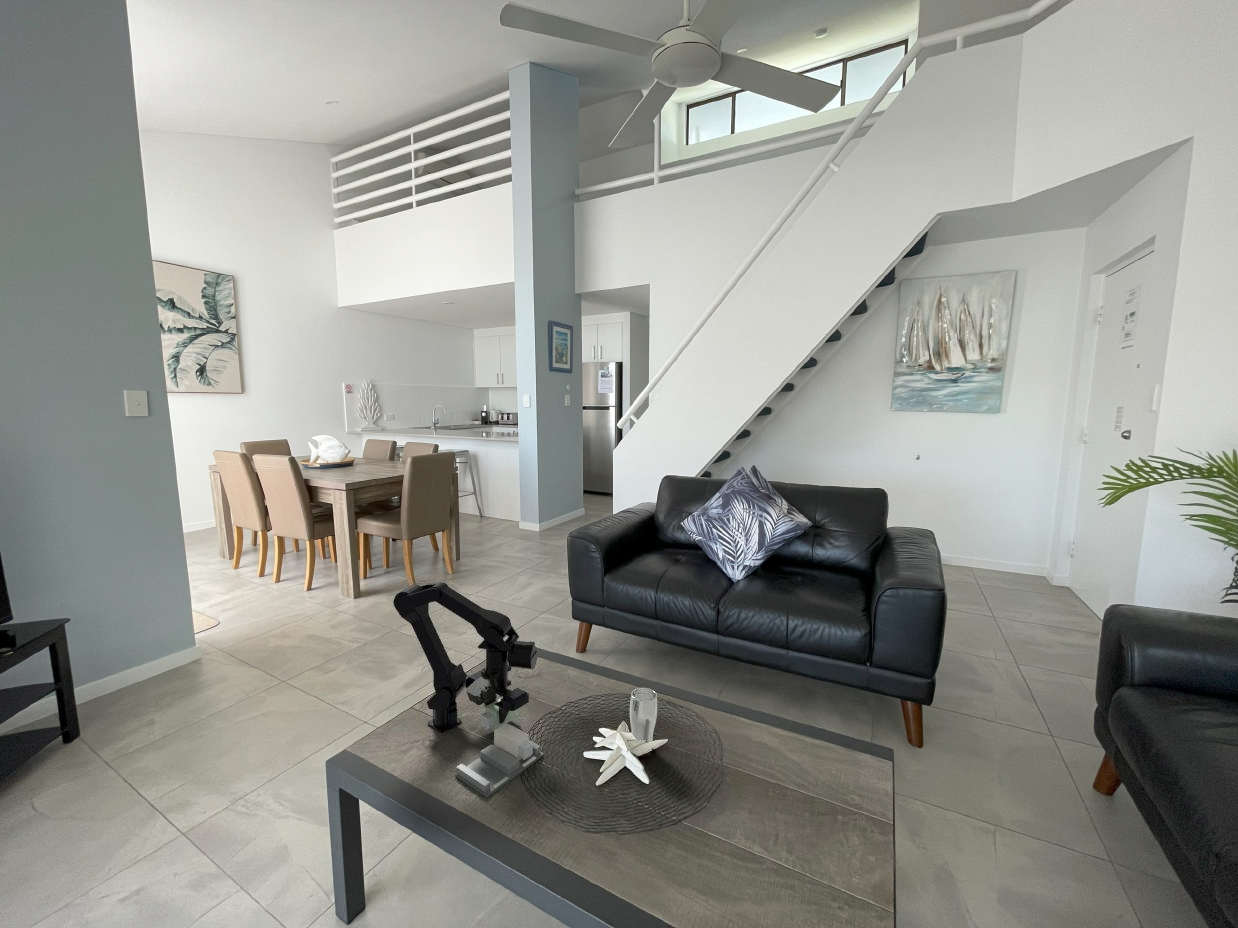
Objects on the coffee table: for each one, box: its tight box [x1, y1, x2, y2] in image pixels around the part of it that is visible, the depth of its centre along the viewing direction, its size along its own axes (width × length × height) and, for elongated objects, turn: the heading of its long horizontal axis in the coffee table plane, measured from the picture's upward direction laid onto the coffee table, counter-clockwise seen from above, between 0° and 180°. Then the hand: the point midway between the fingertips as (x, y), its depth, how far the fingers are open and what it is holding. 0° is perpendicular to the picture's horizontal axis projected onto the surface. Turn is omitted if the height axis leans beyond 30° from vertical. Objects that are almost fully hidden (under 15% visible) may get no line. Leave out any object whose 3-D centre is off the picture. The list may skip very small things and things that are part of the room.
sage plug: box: [480, 697, 519, 730], centre depth 140 cm, size 10×4×5 cm, turn 145°
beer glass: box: [629, 687, 658, 742], centre depth 133 cm, size 7×7×15 cm
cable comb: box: [454, 739, 545, 799], centre depth 126 cm, size 11×18×2 cm, turn 145°
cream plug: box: [493, 722, 533, 760], centre depth 129 cm, size 10×4×5 cm, turn 55°
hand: (496, 719), depth 139 cm, fingers closed on sage plug, 4 cm apart
